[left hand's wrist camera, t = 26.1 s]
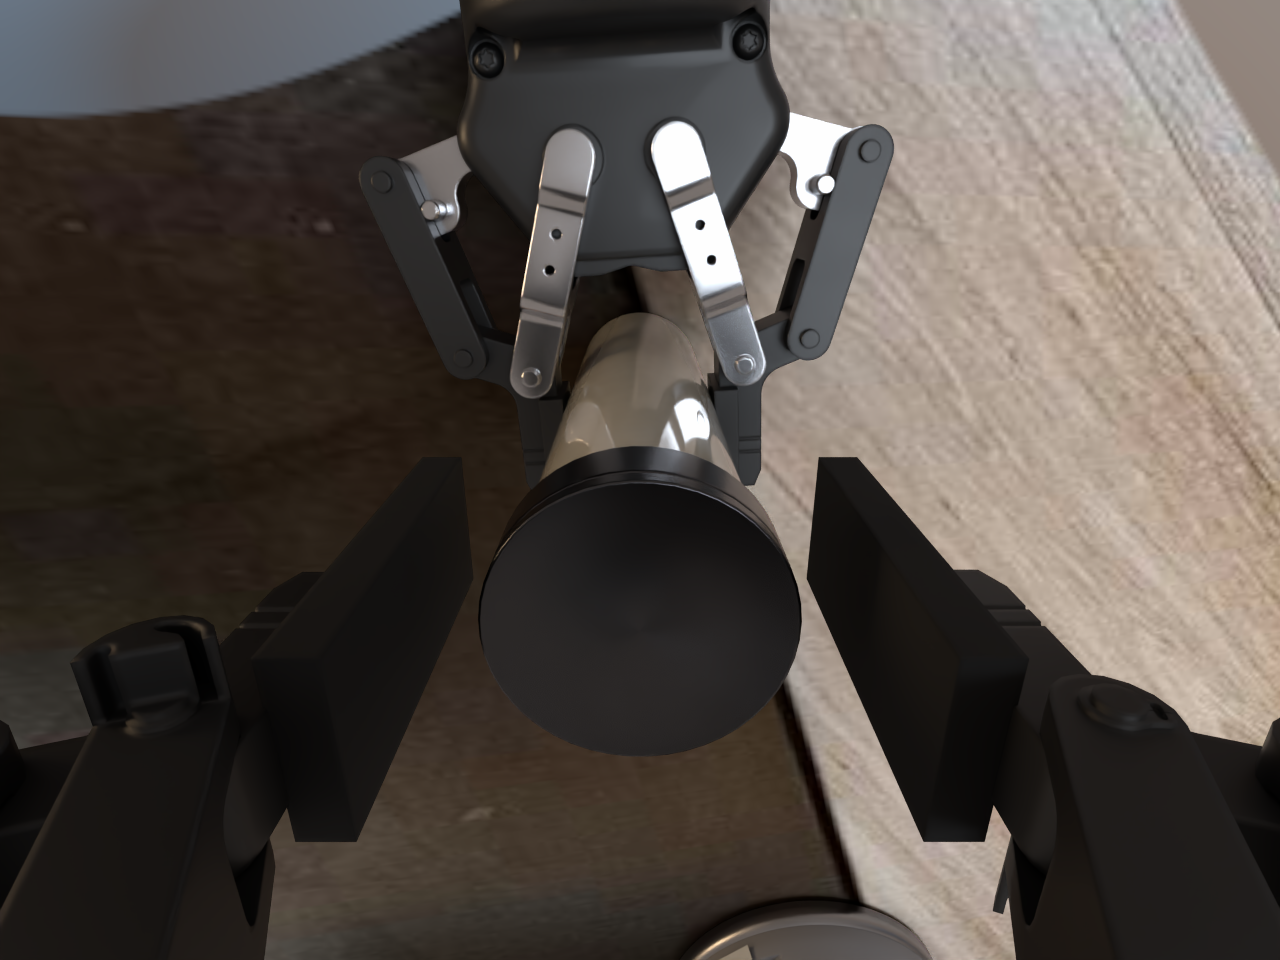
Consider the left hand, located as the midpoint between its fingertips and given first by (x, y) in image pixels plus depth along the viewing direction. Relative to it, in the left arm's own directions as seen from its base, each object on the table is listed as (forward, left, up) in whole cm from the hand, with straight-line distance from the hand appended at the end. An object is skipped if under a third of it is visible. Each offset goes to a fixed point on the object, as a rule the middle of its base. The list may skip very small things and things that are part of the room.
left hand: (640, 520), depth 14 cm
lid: (0, 0, +4) cm, 4 cm away
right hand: (-1, +3, -8) cm, 8 cm away
